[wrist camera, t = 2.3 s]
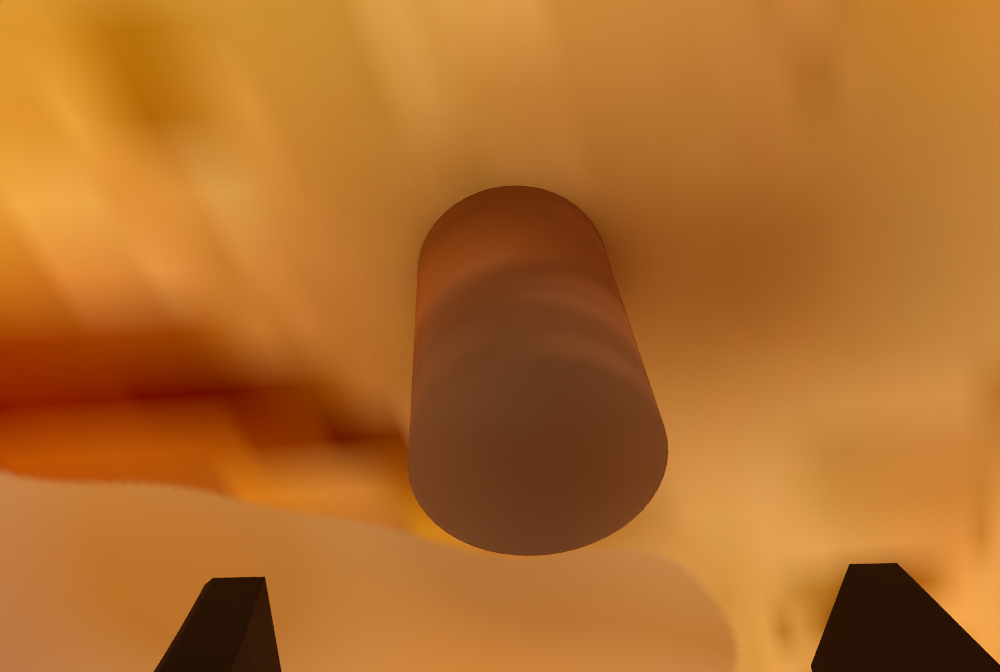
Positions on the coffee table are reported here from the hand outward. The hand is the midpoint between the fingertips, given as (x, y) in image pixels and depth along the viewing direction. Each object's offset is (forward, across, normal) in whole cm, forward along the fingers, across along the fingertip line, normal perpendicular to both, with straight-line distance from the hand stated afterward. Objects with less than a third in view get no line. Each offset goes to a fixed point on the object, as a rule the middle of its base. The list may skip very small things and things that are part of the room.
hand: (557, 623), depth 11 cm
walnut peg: (+9, 0, 0) cm, 9 cm away
